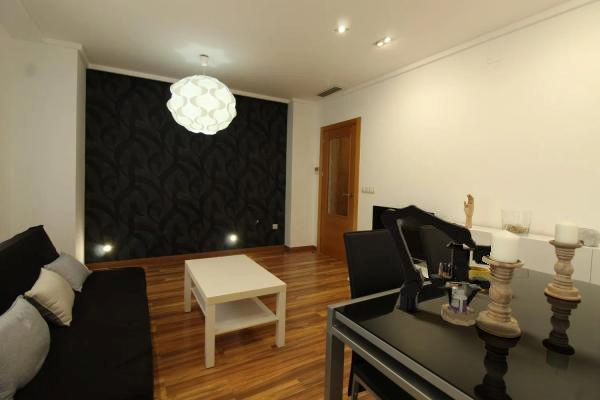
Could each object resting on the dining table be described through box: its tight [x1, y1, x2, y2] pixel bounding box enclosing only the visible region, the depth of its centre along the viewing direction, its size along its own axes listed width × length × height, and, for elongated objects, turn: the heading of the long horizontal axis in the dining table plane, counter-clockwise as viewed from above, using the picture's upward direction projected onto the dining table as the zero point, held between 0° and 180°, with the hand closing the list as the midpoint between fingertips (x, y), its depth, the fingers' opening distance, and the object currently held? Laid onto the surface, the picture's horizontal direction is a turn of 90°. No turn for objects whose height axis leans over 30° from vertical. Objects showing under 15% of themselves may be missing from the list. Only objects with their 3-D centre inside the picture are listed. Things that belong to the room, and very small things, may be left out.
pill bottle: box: [450, 286, 468, 314], centre depth 106 cm, size 5×5×10 cm
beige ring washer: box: [440, 303, 477, 327], centre depth 106 cm, size 10×10×4 cm
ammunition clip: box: [436, 262, 464, 292], centre depth 137 cm, size 11×2×12 cm, turn 45°
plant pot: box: [469, 265, 491, 293], centre depth 138 cm, size 10×10×10 cm
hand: (458, 305), depth 106 cm, fingers closed on pill bottle, 5 cm apart
